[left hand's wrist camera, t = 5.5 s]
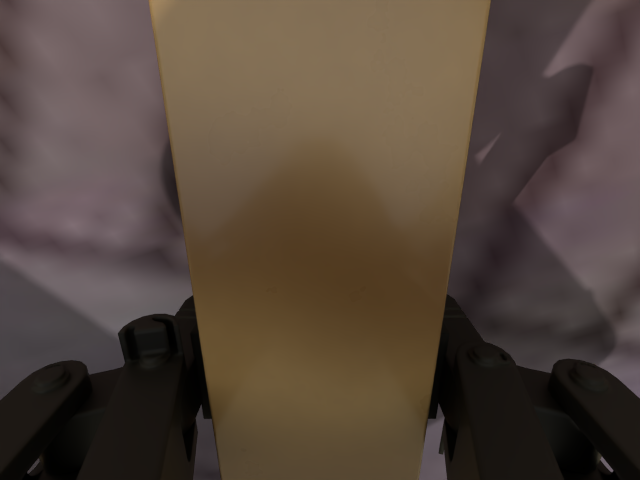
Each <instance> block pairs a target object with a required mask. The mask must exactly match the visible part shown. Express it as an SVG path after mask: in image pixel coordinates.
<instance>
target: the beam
mask: <svg viewBox="0 0 640 480" xmlns="http://www.w3.org/2000/svg"><path fill="white" fill-rule="evenodd" d="M490 3H491V0H149V6H150V13H151V19H152V26H153V33H154V39H155V46H156V52H157V59H158V66H159V72H160V79H161V85H162V92H163V99H164V105H165V112H166V119H167V125H168V132H169V138H170V145H171V152H172V158H173V165H174V171H175V178H176V185H177V191H178V198H179V205H180V211H181V218H182V224H183V231H184V238H185V244H186V251H187V257H188V264H189V271H190V277H191V284H192V291H193V297H194V304H195V310H196V317H197V324H198V330H199V337H200V343H201V350H202V357H203V363H204V370H205V377H206V383H207V390H208V396H209V403H210V410H211V416H212V423H213V429H214V436H215V443H216V449H217V456H218V462H219V469H220V476H221V480H419V474H420V467H421V461H422V454H423V447H424V441H425V434H426V427H427V421H428V414H429V408H430V401H431V394H432V388H433V381H434V374H435V368H436V361H437V354H438V348H439V341H440V335H441V328H442V321H443V315H444V308H445V301H446V295H447V288H448V282H449V275H450V268H451V262H452V255H453V248H454V242H455V235H456V228H457V222H458V215H459V209H460V202H461V195H462V189H463V182H464V175H465V169H466V162H467V155H468V149H469V142H470V136H471V129H472V122H473V116H474V109H475V102H476V96H477V89H478V82H479V76H480V69H481V63H482V56H483V49H484V43H485V36H486V29H487V23H488V16H489V9H490Z"/></svg>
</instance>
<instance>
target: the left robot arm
mask: <svg viewBox="0 0 640 480" xmlns="http://www.w3.org/2000/svg"><path fill="white" fill-rule="evenodd" d="M118 336H119V340H120V344H121V348H122V352H123V356H124V360H125V364H124V367H121V368H118V369H114V370H109V371H105V372H100V373H95V374H91V375H89V373H88V370H87V366H86V365H85V364H83V363H82V362H80V361H74V360H70V361H62V362H57V363H54V364H50V365H48V366H45V367H43V368H41V369H39V370H37V371H35V372H33V373H32V374H31V375H29V376H28V377H27V378H25V379H24V380H22V381H21V382H20V383H19V384H18V385H17V386H16V387H15V388H14V389H13V390H11V391H10V392H9V393H8V394H7V395H6V396H5V397H4V398H3V399H2V400H0V480H193V473H194V463H195V454H196V444H197V434H198V431H197V424H196V419H195V418H196V416H197V413H198V411H199V408H200V406H201V404H202V410H203V416H204V419H212V416H211V410H210V403H209V396H208V390H207V383H206V377H205V370H204V363H203V357H202V350H201V343H200V337H199V330H198V324H197V317H196V310H195V304H194V297H193V296H191V297H190V298H188V299H187V300H186V301H185V302H184V303H183V305H182V306H181V308H180V309H179V311H178V312H177V313H176V315H175V316H172V315H168V314H153V315H148V316H143V317H141V318H138V319H136V320H133V321H131V322H130V323H128V324H127V325H125V326H124V327H123V328H122V329H121V330H120V332H119V333H118ZM438 402H439V404H440V407H441V409H442V412H443V414H444V417H445V419H444V424H443V430H442V436H441V442H440V448H439V454H443V452H444V453H445V462H446V472H447V480H640V398H638V397H637V396H636V395H635V394H634V393H633V392H632V391H631V390H630V389H629V388H627V387H626V386H625V385H624V384H623V383H622V382H621V381H620V380H619V379H617V378H616V377H615V376H613V375H612V374H610V373H609V372H608V371H606V370H604V369H602V368H600V367H598V366H596V365H594V364H591V363H589V362H585V361H581V360H575V359H563V360H559V361H557V362H556V363H555V364H554V365H553V369H552V372H551V373H547V372H542V371H537V370H533V369H528V368H524V367H520V366H517V365H516V364H515V362H514V360H513V359H512V357H511V356H510V355H509V354H508V353H507V352H505V351H504V350H503V349H501V348H499V347H497V346H495V345H493V344H490V343H486V342H484V341H483V339H482V338H481V336H480V335H479V333H478V332H477V331H476V329H475V328H474V326H473V325H472V324H471V322H470V321H469V319H468V318H466V315H465V314H464V312H463V311H462V310H461V308H460V307H459V305H458V304H457V302H456V301H455V299H453V298H452V297H450V296H449V295H446V301H445V308H444V315H443V321H442V328H441V335H440V341H439V348H438V354H437V361H436V368H435V374H434V381H433V388H432V394H431V401H430V408H429V414H428V419H436V415H437V409H438ZM601 456H602V457H603V458H604V459H605V460H606V462H607V463H608V464H609V465H610V467H611V468H612V469H613V470H614V471H613V472H610V471H609V470H608V469H607V468H606V467H605V465H604V464H603V463H602V462H601V460H600V459H601ZM38 458H39V460H40V462H39V463H38V465H37V466H36V467H35V468H34V469H33V470H32V471H31V472H30V473H29V474H28V473H27V471H28V470H29V469H30V468H31V466H32V465H33V464H34V463H35V461H36V460H37V459H38Z"/></svg>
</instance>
